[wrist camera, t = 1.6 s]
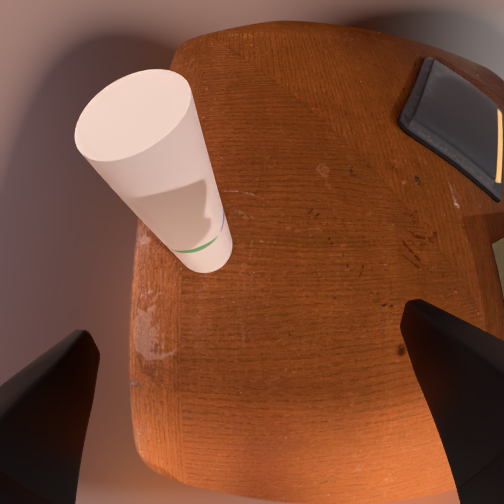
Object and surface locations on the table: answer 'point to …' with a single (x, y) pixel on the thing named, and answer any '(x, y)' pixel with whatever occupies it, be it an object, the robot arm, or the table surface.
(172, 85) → the tube
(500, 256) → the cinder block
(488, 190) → the wallet
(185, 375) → the table surface
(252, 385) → the table surface
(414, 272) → the table surface
